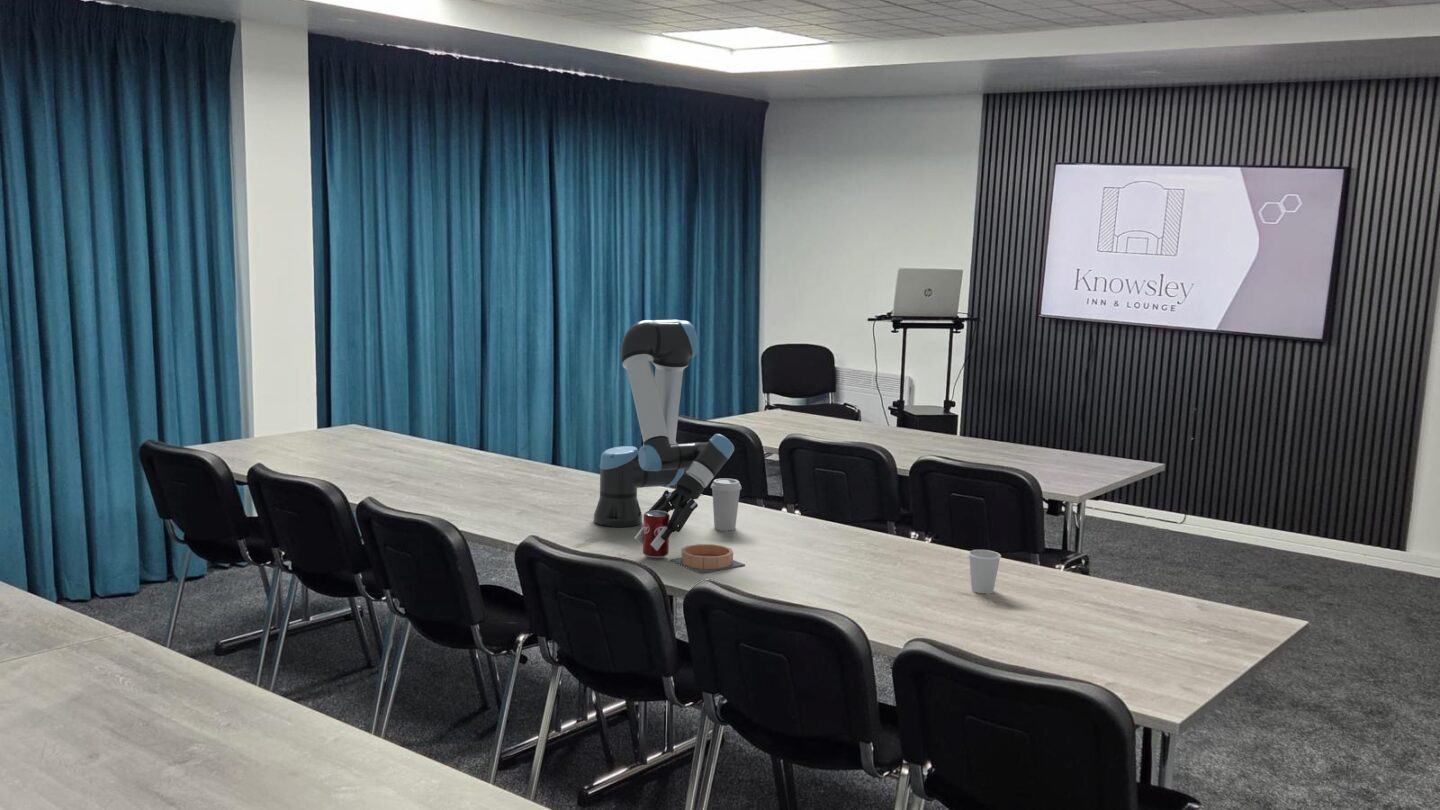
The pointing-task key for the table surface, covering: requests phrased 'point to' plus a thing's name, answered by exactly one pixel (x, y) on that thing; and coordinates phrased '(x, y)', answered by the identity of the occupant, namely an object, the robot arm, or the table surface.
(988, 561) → the dixie cup
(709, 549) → the bowl
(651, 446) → the robot arm
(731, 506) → the coffee cup
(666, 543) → the soda can
